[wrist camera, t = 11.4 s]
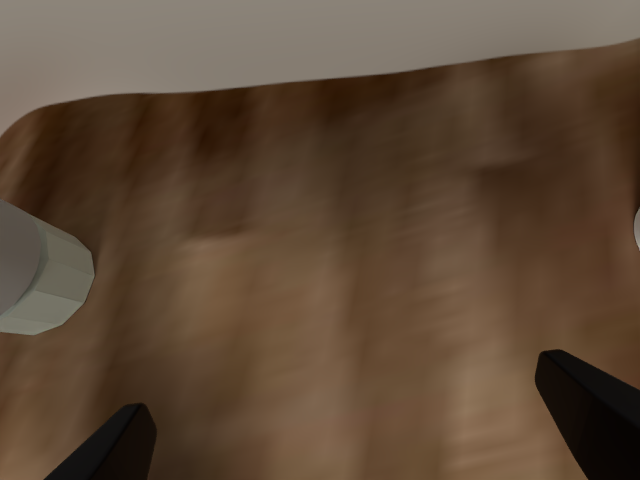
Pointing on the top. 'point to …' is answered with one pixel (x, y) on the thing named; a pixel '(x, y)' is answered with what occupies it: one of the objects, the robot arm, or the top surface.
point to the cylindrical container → (637, 228)
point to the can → (16, 253)
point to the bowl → (52, 284)
